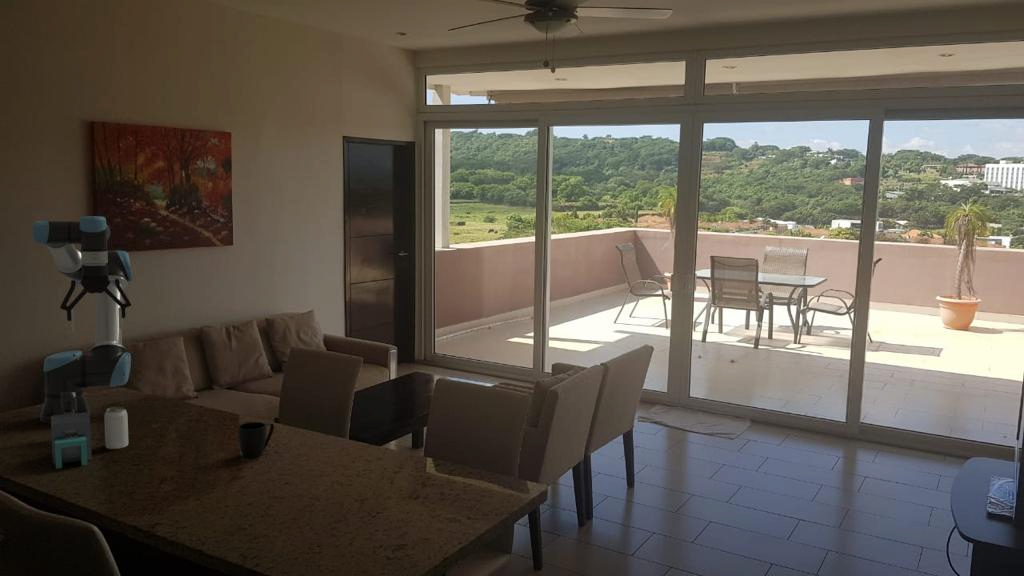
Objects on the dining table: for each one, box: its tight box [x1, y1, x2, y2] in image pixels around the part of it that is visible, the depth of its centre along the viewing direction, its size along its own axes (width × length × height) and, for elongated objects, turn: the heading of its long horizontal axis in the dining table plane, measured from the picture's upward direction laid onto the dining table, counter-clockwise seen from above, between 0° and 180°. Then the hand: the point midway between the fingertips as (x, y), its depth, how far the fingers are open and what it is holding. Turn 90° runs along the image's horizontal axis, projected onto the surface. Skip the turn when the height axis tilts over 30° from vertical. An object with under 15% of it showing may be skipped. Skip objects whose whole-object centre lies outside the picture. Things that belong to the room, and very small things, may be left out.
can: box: [104, 406, 129, 450], centre depth 246 cm, size 6×6×12 cm
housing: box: [50, 412, 93, 465], centre depth 235 cm, size 10×10×12 cm
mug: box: [237, 421, 275, 460], centre depth 242 cm, size 8×12×10 cm
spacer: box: [55, 436, 88, 470], centre depth 229 cm, size 4×8×8 cm, turn 120°
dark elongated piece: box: [61, 390, 78, 438], centre depth 244 cm, size 26×4×9 cm, turn 30°
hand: (97, 329), depth 255 cm, fingers open, 13 cm apart
